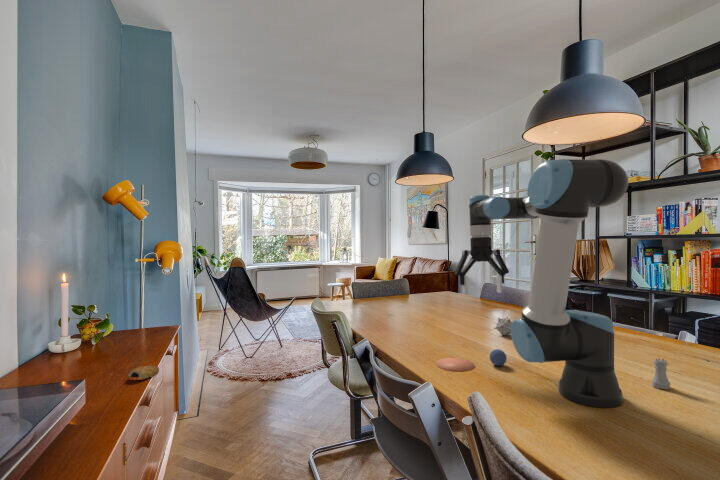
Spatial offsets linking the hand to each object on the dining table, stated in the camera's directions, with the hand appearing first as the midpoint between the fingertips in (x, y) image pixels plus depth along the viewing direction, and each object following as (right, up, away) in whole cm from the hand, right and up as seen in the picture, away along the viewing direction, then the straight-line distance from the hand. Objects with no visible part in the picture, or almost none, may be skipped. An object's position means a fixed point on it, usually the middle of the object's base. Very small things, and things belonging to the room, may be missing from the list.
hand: (482, 293), depth 139 cm
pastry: (-119, -27, -14) cm, 123 cm away
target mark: (-12, -24, -9) cm, 28 cm away
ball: (+2, -21, -11) cm, 23 cm away
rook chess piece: (+42, -23, -31) cm, 57 cm away
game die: (+19, -23, +26) cm, 39 cm away
